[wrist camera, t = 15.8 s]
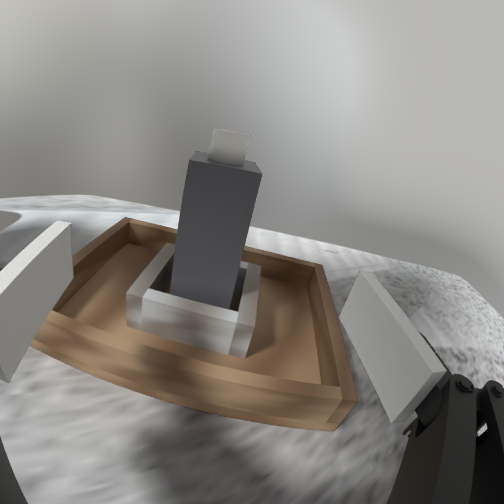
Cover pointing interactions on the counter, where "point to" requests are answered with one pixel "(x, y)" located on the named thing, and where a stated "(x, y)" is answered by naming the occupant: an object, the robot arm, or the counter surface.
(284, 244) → the counter surface
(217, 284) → the charcoal bottle
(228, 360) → the walnut box
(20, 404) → the counter surface
